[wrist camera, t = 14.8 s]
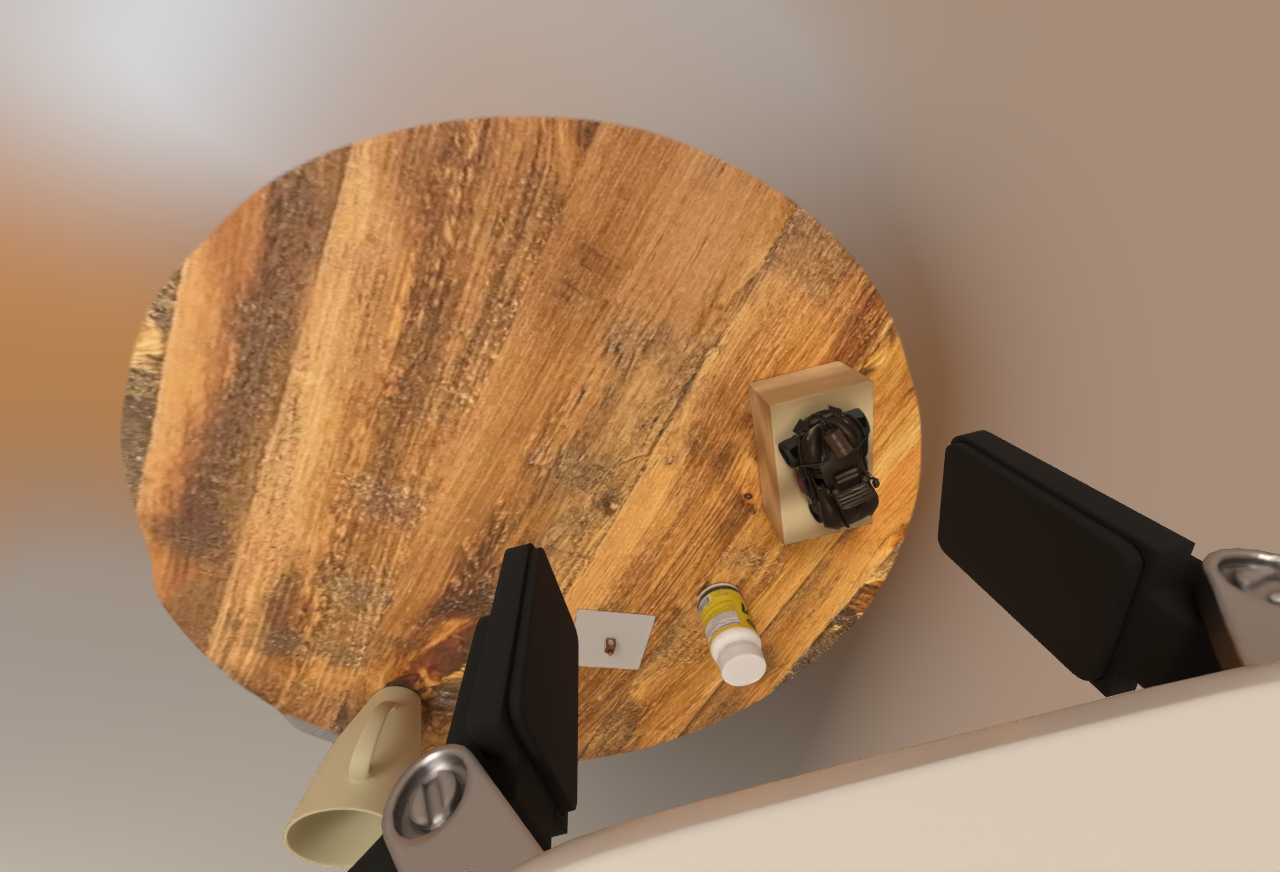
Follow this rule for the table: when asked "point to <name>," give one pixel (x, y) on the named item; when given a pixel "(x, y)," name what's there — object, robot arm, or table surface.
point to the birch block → (774, 422)
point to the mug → (357, 781)
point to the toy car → (833, 466)
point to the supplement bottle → (731, 634)
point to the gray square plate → (612, 638)
